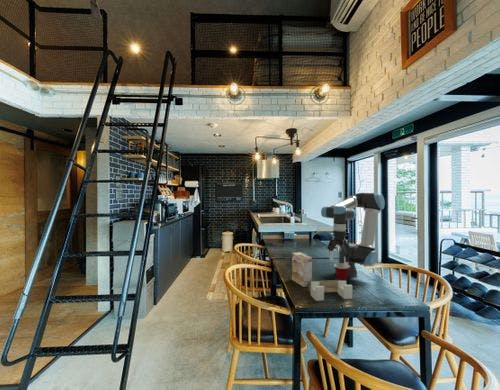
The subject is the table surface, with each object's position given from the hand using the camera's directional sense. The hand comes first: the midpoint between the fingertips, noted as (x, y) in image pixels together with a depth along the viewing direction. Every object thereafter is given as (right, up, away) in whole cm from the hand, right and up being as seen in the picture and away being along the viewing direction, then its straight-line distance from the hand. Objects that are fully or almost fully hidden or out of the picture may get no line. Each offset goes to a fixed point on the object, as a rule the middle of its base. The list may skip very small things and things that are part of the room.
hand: (338, 263), depth 155 cm
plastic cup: (+9, -18, +19) cm, 28 cm away
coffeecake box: (-20, -18, +17) cm, 32 cm away
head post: (-15, -19, -7) cm, 25 cm away
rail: (-8, -18, +3) cm, 20 cm away
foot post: (+2, -19, -4) cm, 19 cm away
